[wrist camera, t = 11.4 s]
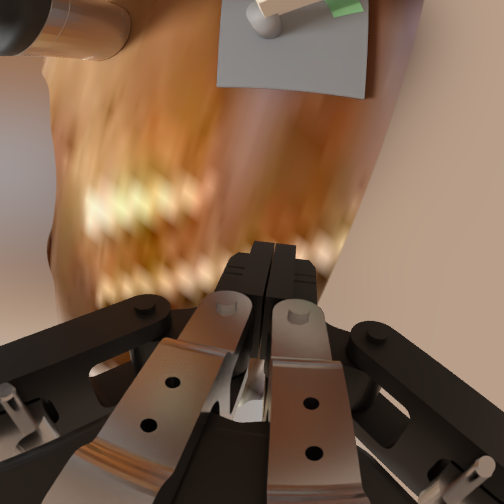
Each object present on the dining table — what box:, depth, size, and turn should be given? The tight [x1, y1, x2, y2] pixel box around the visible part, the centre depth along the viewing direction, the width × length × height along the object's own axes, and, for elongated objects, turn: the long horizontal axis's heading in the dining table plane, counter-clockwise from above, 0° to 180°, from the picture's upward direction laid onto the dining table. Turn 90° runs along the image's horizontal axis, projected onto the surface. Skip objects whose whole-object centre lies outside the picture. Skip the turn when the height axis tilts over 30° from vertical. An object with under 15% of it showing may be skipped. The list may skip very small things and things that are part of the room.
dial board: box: [217, 0, 368, 99], centre depth 31 cm, size 18×18×2 cm
